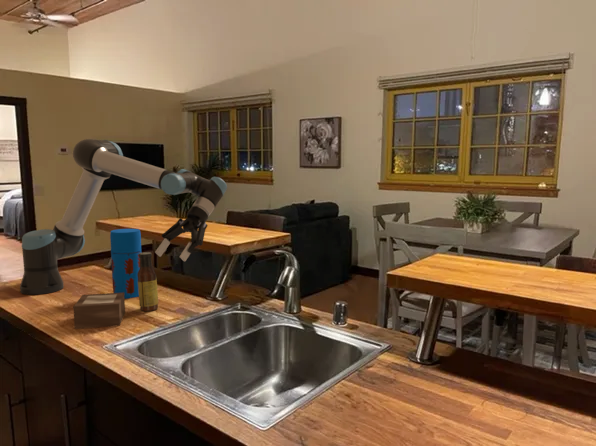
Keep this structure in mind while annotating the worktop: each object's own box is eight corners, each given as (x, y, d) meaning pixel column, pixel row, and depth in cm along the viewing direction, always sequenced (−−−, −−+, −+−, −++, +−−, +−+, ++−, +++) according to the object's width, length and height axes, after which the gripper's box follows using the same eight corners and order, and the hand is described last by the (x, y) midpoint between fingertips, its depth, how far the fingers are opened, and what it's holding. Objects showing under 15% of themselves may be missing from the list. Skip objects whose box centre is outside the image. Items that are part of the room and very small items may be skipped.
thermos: (147, 291, 180) (145, 228, 177) (135, 299, 169) (132, 233, 166) (121, 290, 181) (118, 228, 178) (107, 298, 170) (104, 232, 167)
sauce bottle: (162, 307, 160) (160, 251, 157) (151, 312, 154) (149, 255, 152) (146, 305, 162) (144, 250, 159) (135, 310, 156) (132, 254, 154)
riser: (83, 315, 151) (82, 294, 150) (125, 312, 154) (124, 292, 153) (74, 328, 139) (73, 306, 138) (119, 325, 142) (118, 303, 141)
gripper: (229, 220, 168) (199, 267, 158) (184, 215, 183) (154, 258, 173) (218, 207, 163) (186, 254, 153) (173, 203, 178) (141, 246, 168)
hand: (169, 256), depth 163 cm, fingers open, 13 cm apart
